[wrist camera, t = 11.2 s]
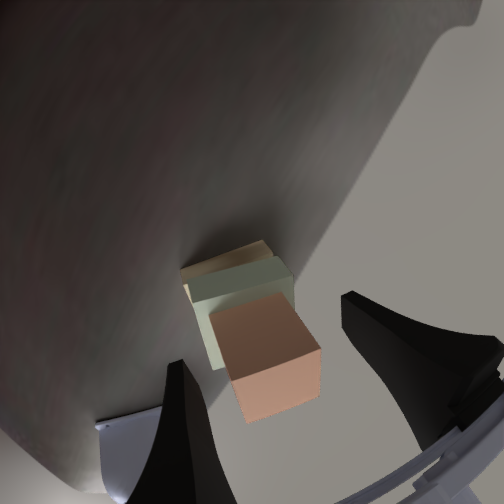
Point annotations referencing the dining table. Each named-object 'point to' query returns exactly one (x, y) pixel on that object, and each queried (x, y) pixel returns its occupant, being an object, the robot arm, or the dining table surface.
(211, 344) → the tower top block
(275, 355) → the terracotta block
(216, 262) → the tower base block
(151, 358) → the dining table surface
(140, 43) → the dining table surface
